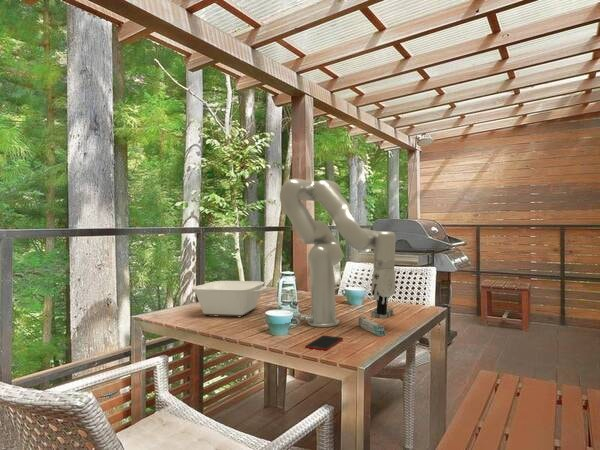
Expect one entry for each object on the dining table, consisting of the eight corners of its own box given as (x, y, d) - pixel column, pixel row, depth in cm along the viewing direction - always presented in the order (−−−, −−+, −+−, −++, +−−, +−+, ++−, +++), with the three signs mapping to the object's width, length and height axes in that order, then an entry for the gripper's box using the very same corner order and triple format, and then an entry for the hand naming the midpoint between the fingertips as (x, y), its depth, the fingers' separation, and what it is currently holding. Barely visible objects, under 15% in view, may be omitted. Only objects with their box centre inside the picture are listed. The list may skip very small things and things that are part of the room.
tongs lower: (357, 325, 162) (357, 317, 162) (363, 325, 163) (363, 316, 163) (378, 336, 146) (378, 326, 146) (385, 335, 147) (385, 326, 147)
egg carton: (380, 313, 186) (380, 304, 186) (396, 315, 181) (396, 305, 181) (368, 317, 177) (368, 307, 177) (384, 319, 172) (384, 309, 173)
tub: (181, 318, 182) (181, 288, 182) (209, 306, 208) (208, 280, 208) (256, 321, 174) (255, 290, 174) (274, 308, 200) (274, 281, 200)
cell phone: (343, 340, 144) (343, 337, 144) (326, 352, 130) (326, 349, 130) (323, 337, 147) (323, 335, 147) (304, 349, 134) (304, 346, 134)
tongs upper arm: (361, 323, 159) (361, 319, 159) (367, 322, 159) (367, 318, 159) (377, 331, 146) (377, 326, 146) (384, 330, 147) (384, 326, 147)
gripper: (382, 267, 147) (380, 319, 147) (402, 264, 158) (400, 313, 159) (364, 265, 152) (361, 315, 152) (385, 262, 163) (383, 309, 164)
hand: (381, 314), depth 156 cm, fingers closed
